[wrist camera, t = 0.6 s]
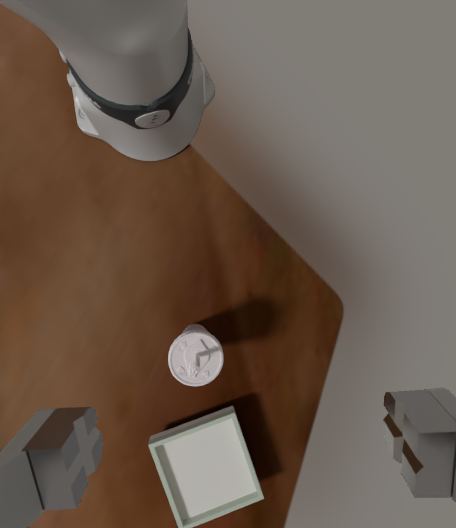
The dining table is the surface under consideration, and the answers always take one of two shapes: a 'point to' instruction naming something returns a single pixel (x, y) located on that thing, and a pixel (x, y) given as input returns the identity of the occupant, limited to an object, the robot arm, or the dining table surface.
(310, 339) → the dining table surface
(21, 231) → the dining table surface
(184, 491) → the caster cart
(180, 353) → the smoothie
